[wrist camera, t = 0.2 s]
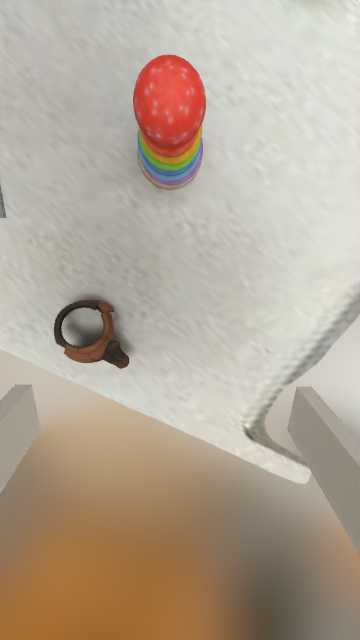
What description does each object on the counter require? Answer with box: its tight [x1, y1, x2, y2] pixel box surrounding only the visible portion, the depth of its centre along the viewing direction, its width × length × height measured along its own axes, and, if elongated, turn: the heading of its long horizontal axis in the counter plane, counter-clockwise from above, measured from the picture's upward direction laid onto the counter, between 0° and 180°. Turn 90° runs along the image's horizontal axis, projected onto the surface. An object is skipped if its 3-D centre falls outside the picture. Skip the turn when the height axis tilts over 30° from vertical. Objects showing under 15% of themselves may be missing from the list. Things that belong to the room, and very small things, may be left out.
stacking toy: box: [133, 55, 206, 189], centre depth 25 cm, size 8×8×19 cm
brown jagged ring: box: [54, 300, 129, 369], centre depth 39 cm, size 12×10×8 cm
